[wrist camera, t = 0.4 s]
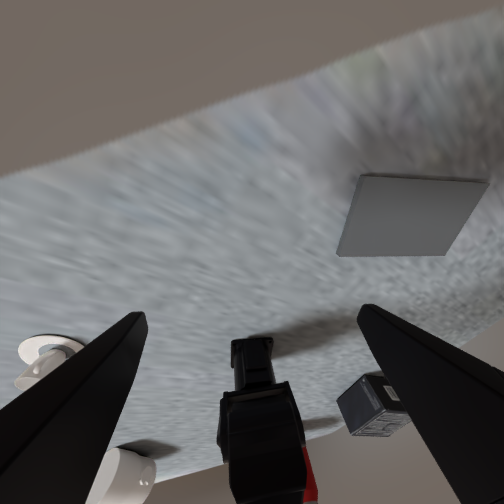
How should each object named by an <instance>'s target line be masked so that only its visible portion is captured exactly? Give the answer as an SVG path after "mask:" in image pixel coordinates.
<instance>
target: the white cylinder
mask: <svg viewBox="0 0 504 504" xmlns="http://www.w3.org/2000/svg"><path fill="white" fill-rule="evenodd" d="M155 477H156V463H155V461H154V460H153V459H152V458H148V457H144V456H139V455H138V454H137V453H135V452H132V451H128V450H124V449H120V448H112V449H110V450H109V451H108V452H106V453H105V455H104V457H103V460H102V462H101V465H100V468H99V470H98V473H97V475H96V478H95V480H94V483H93V485H92V488H91V490H90V493H89V495H88V498H87V500H86V503H85V504H142V503H143V502H144V500H145V499H146V498H147V496H148V495H149V493H150V491H151V489H152V487H153V484H154V481H155Z"/></svg>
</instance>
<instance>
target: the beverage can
mask: <svg viewBox="0 0 504 504" xmlns="http://www.w3.org/2000/svg"><path fill="white" fill-rule="evenodd" d="M302 448H303V453H304V457H305V462H306V466H307V484H306V490H305V491H304V499H303V504H318V503H317V499H318V490H317V486H316V482H315V478H314V474H313V471H312V467H311V463H310V460H309V456H308V453H307V449H306V446H305V447H302Z"/></svg>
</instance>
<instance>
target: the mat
mask: <svg viewBox="0 0 504 504" xmlns="http://www.w3.org/2000/svg"><path fill="white" fill-rule="evenodd" d="M489 185H490V183H482V182H465V181H448V180H431V179H414V178H396V177H379V176H362V175H360V178H359V182H358V185H357V188H356V191H355V194H354V198H353V201H352V204H351V207H350V210H349V214H348V217H347V220H346V223H345V226H344V230H343V233H342V236H341V239H340V242H339V246H338V249H337V252H336V254H337V255H338V256H339V257H370V256H445V255H446V253H447V251H448V250H449V248H450V247H451V245H452V243H453V242H454V240H455V239H456V237H457V236H458V234H459V232H460V231H461V229H462V228H463V226H464V224H465V223H466V221H467V220H468V218H469V216H470V215H471V213H472V212H473V210H474V208H475V207H476V205H477V204H478V202H479V200H480V199H481V197H482V196H483V194H484V193H485V191H486V189H487V188H488V186H489Z"/></svg>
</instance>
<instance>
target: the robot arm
mask: <svg viewBox="0 0 504 504" xmlns="http://www.w3.org/2000/svg"><path fill="white" fill-rule="evenodd" d="M357 323H358V325H359V327H360V329H361V331H362V333H363V335H364V338H365V340H366V342H367V344H368V346H369V348H370V350H371V352H372V354H373V356H374V358H375V359H376V361H377V363H378V365H379V366H380V368H381V370H382V371H383V373H384V375H385V376H386V378H387V380H388V382H389V383H390V385H391V387H392V388H393V390H394V392H395V393H396V395H397V397H398V398H399V400H400V402H401V403H402V405H403V407H404V408H405V410H406V412H407V413H408V415H409V417H410V419H411V420H412V422H413V424H414V425H415V427H416V429H417V430H418V432H419V434H420V435H421V437H422V439H423V440H424V442H425V444H426V445H427V447H428V449H429V450H430V452H431V454H432V455H433V457H434V458H435V460H436V462H437V464H438V466H439V467H440V469H441V471H442V472H443V474H444V476H445V477H446V479H447V481H448V482H449V484H450V486H451V487H452V489H453V491H454V493H455V494H456V496H457V498H458V499H459V501H460V503H461V504H504V372H503V371H501V370H499V369H497V368H495V367H492V366H490V365H489V364H487V363H485V362H484V361H482V360H480V359H478V358H476V357H474V356H472V355H470V354H468V353H466V352H464V351H463V350H461V349H459V348H457V347H455V346H453V345H451V344H449V343H447V342H445V341H443V340H442V339H440V338H438V337H436V336H434V335H432V334H430V333H428V332H426V331H424V330H422V329H421V328H419V327H417V326H415V325H413V324H411V323H409V322H407V321H405V320H403V319H401V318H400V317H398V316H396V315H394V314H392V313H390V312H388V311H386V310H384V309H382V308H380V307H379V306H377V305H375V304H364V305H362V307H361V309H360V312H359V314H358V316H357ZM147 334H148V325H147V321H146V316H145V313H144V312H142V311H140V312H131V313H129V314H128V315H126V316H125V317H124V318H122V319H121V320H120V321H118V322H117V323H116V324H114V325H113V326H112V327H110V328H109V329H108V330H106V331H105V332H104V333H102V334H101V335H100V336H98V337H97V338H96V339H94V340H93V341H92V342H90V343H89V344H87V345H86V346H85V347H83V348H82V349H81V350H79V351H78V352H77V353H75V354H74V355H73V356H71V357H70V358H69V359H67V360H66V361H65V362H63V363H62V364H61V365H59V366H58V367H57V368H55V369H54V370H53V371H51V372H50V373H49V374H47V375H46V376H45V377H43V378H42V379H41V380H39V381H38V382H37V383H35V384H34V385H33V386H31V387H30V388H29V389H27V390H26V391H25V392H23V393H22V394H21V395H19V396H18V397H17V398H15V399H14V400H13V401H11V402H10V403H9V404H7V405H6V406H5V407H3V408H2V409H1V410H0V504H85V503H86V500H87V498H88V495H89V493H90V490H91V488H92V485H93V483H94V480H95V478H96V475H97V473H98V470H99V468H100V465H101V462H102V460H103V457H104V455H105V452H106V450H107V447H108V445H109V442H110V440H111V437H112V435H113V432H114V430H115V427H116V425H117V422H118V420H119V417H120V414H121V412H122V409H123V407H124V404H125V402H126V399H127V397H128V394H129V392H130V389H131V387H132V384H133V381H134V379H135V376H136V373H137V369H138V366H139V362H140V359H141V355H142V352H143V348H144V345H145V341H146V337H147ZM272 347H273V338H256V339H243V340H233V341H232V342H231V368H234V377H235V391H231V392H228V391H226V392H224V393H223V398H222V399H221V400H220V417H219V424H218V431H217V445H218V446H219V447H220V448H221V453H222V456H223V463H224V464H225V463H229V484H230V488H231V491H232V494H233V496H234V498H235V501H236V503H237V504H303V499H304V491H305V490H306V484H307V466H306V462H305V457H304V453H303V448H302V447H305V446H306V442H305V434H304V429H303V424H302V420H301V417H300V413H299V410H298V407H297V405H296V402H295V399H294V396H293V393H292V391H291V388H290V385H289V382H288V381H284V382H283V383H277V384H276V380H275V376H274V371H273V367H272V362H271V352H272Z"/></svg>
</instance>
